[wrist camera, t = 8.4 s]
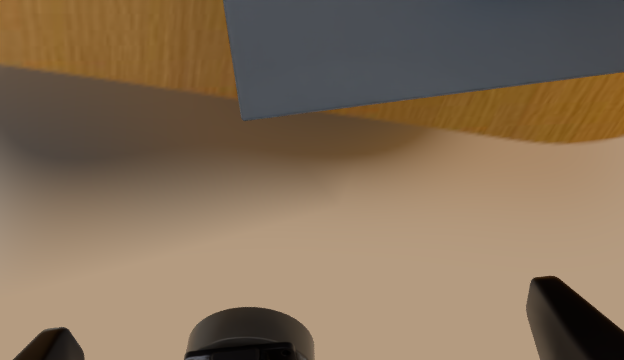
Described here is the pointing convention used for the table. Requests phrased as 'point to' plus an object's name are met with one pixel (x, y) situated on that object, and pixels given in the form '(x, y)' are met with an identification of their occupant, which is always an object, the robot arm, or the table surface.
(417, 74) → the lid
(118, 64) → the table surface
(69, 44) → the table surface
